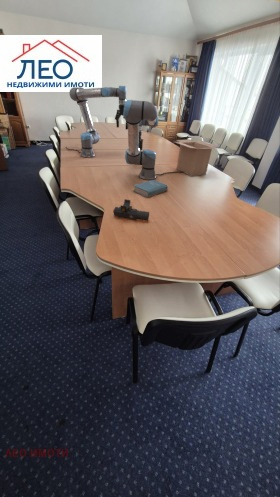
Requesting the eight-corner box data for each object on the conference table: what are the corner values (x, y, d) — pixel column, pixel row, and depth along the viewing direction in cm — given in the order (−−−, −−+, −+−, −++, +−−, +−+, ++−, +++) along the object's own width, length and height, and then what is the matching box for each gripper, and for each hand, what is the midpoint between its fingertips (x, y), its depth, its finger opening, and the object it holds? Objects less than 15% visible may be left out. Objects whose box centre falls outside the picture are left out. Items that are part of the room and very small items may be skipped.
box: (218, 176, 220) (226, 147, 204) (190, 180, 206) (196, 149, 190) (191, 164, 250) (196, 137, 234) (164, 166, 236) (168, 138, 220)
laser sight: (146, 224, 135) (147, 209, 129) (111, 219, 138) (111, 204, 132) (149, 217, 143) (150, 203, 137) (115, 212, 146) (115, 198, 140)
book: (152, 185, 190) (153, 179, 187) (167, 191, 181) (167, 185, 178) (133, 191, 176) (133, 185, 173) (147, 198, 167) (148, 191, 164)
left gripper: (111, 103, 227) (111, 126, 239) (128, 106, 214) (128, 130, 227) (116, 103, 231) (116, 126, 244) (133, 106, 219) (133, 129, 231)
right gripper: (128, 129, 211) (127, 155, 225) (142, 132, 202) (140, 159, 215) (133, 129, 216) (132, 154, 229) (147, 132, 206) (145, 158, 220)
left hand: (122, 128), depth 235 cm, fingers open, 13 cm apart
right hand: (136, 156), depth 222 cm, fingers closed on ink cartridge box, 5 cm apart
